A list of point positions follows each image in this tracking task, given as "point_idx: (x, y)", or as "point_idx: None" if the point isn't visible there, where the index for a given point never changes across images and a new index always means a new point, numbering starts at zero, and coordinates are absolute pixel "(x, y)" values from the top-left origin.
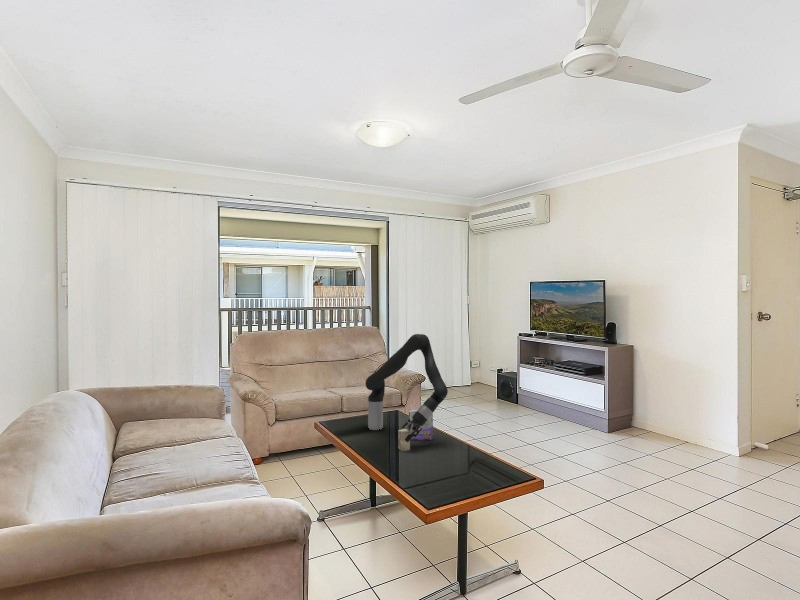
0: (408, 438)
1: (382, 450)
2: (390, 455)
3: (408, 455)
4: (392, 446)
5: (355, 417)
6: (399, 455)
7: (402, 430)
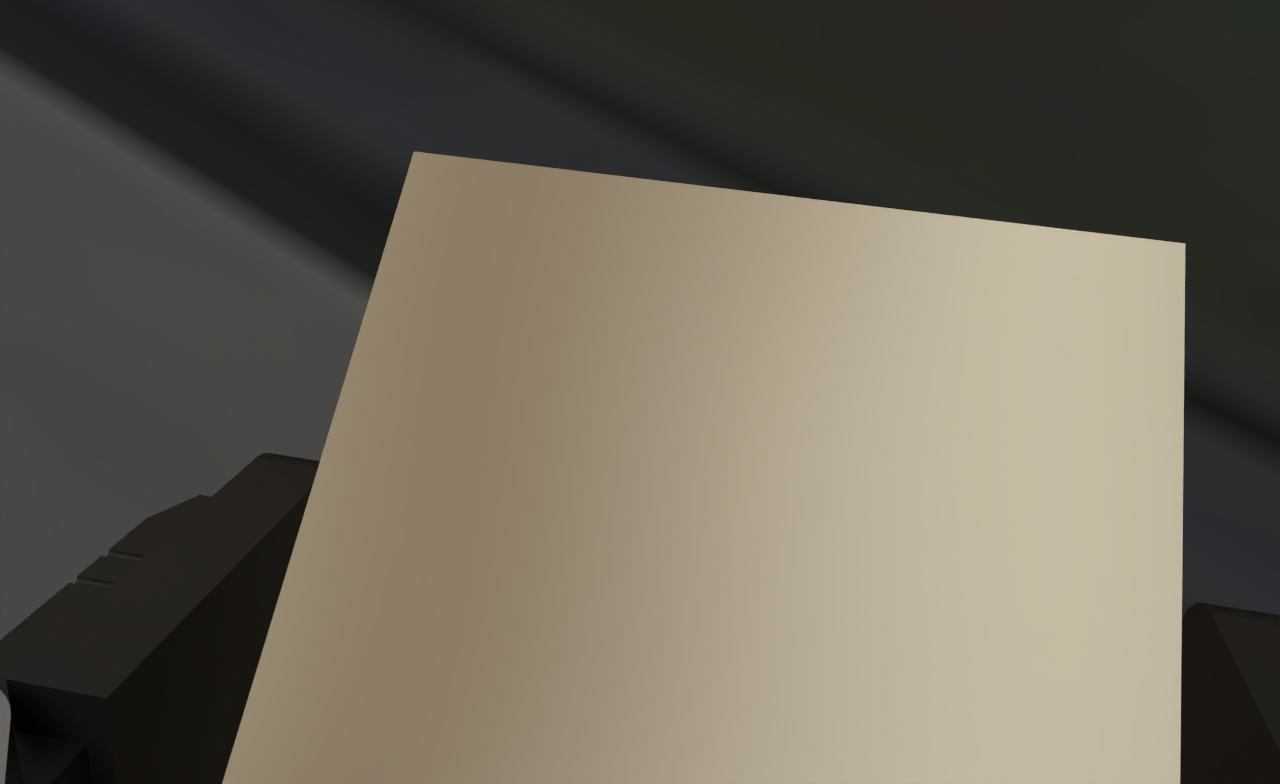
0: (100, 582)
1: (1003, 80)
2: (481, 71)
3: (111, 504)
4: (1255, 548)
5: None
6: (309, 272)
7: (846, 457)
